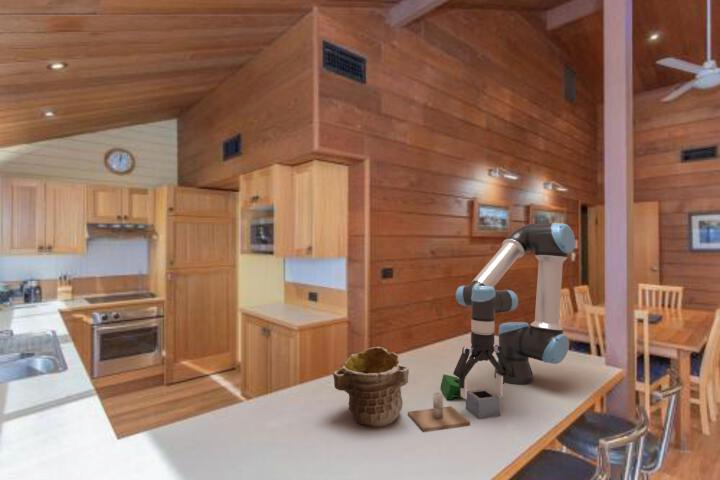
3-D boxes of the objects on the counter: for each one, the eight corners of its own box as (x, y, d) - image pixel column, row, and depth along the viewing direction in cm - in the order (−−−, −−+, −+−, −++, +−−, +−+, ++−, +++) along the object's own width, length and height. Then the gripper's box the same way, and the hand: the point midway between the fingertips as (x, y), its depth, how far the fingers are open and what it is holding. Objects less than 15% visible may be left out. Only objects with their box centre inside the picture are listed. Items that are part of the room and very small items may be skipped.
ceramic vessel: (365, 422, 106) (339, 338, 120) (337, 446, 123) (317, 369, 137) (431, 404, 117) (401, 328, 131) (397, 428, 134) (373, 358, 148)
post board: (451, 409, 134) (451, 385, 134) (470, 425, 123) (470, 399, 123) (407, 414, 130) (407, 390, 130) (423, 431, 118) (423, 405, 118)
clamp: (459, 410, 143) (467, 392, 140) (443, 406, 143) (451, 388, 139) (454, 386, 154) (462, 369, 151) (439, 383, 154) (447, 365, 150)
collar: (486, 405, 137) (486, 388, 137) (500, 415, 129) (500, 397, 129) (465, 408, 135) (465, 391, 135) (478, 418, 127) (478, 400, 127)
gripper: (507, 328, 139) (506, 388, 139) (443, 331, 132) (442, 394, 132) (521, 333, 131) (520, 396, 131) (455, 336, 125) (453, 403, 125)
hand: (481, 395), depth 132 cm, fingers open, 13 cm apart
